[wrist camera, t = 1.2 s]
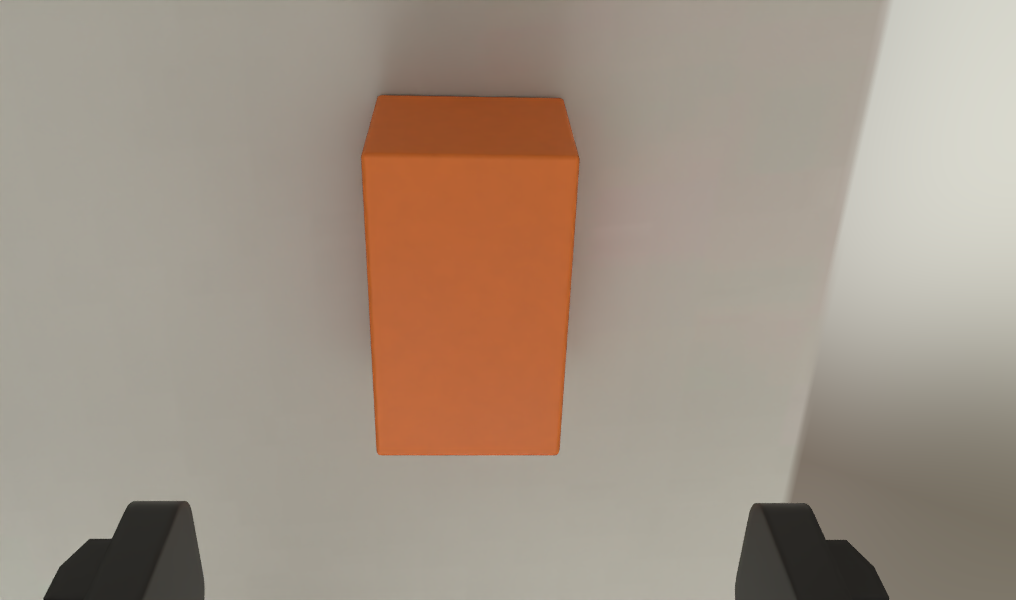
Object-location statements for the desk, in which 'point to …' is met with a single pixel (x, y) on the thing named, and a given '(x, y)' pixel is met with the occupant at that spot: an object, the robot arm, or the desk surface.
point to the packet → (469, 272)
